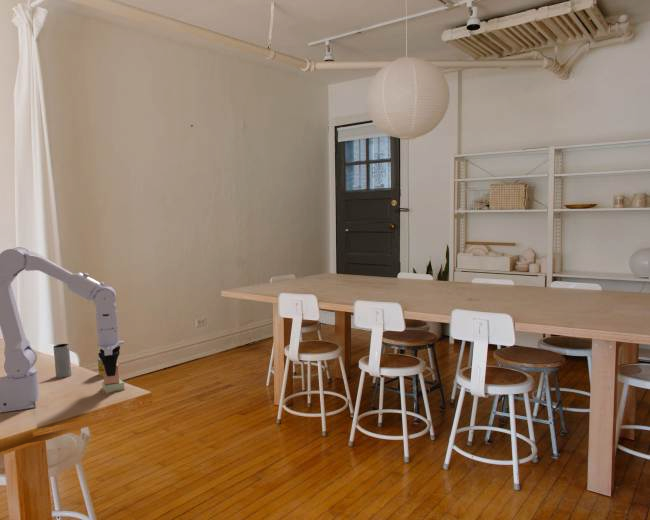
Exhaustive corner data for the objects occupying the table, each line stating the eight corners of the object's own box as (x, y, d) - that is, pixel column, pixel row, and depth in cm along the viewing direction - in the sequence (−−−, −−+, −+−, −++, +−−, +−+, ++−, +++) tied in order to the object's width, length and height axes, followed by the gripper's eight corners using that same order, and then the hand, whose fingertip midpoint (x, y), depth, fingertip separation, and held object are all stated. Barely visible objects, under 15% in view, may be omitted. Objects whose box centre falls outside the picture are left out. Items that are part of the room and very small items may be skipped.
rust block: (104, 384, 153) (103, 367, 153) (104, 380, 157) (104, 363, 156) (119, 382, 154) (118, 365, 154) (119, 378, 158) (118, 362, 158)
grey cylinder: (67, 373, 179) (64, 343, 178) (73, 375, 176) (71, 344, 175) (53, 376, 176) (50, 346, 175) (60, 378, 173) (57, 347, 172)
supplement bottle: (120, 376, 173) (118, 347, 172) (106, 381, 168) (104, 351, 168) (109, 374, 176) (107, 345, 175) (95, 378, 171) (93, 349, 170)
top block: (106, 393, 152) (105, 386, 152) (102, 388, 157) (101, 382, 156) (124, 389, 155) (123, 382, 155) (120, 384, 159) (119, 378, 159)
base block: (103, 400, 152) (103, 394, 152) (100, 395, 157) (100, 388, 157) (125, 396, 155) (125, 389, 155) (122, 390, 160) (121, 384, 160)
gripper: (122, 331, 149) (125, 378, 150) (122, 321, 162) (126, 365, 163) (94, 334, 146) (98, 382, 148) (97, 324, 160) (101, 368, 161)
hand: (111, 373), depth 155 cm, fingers closed on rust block, 4 cm apart
